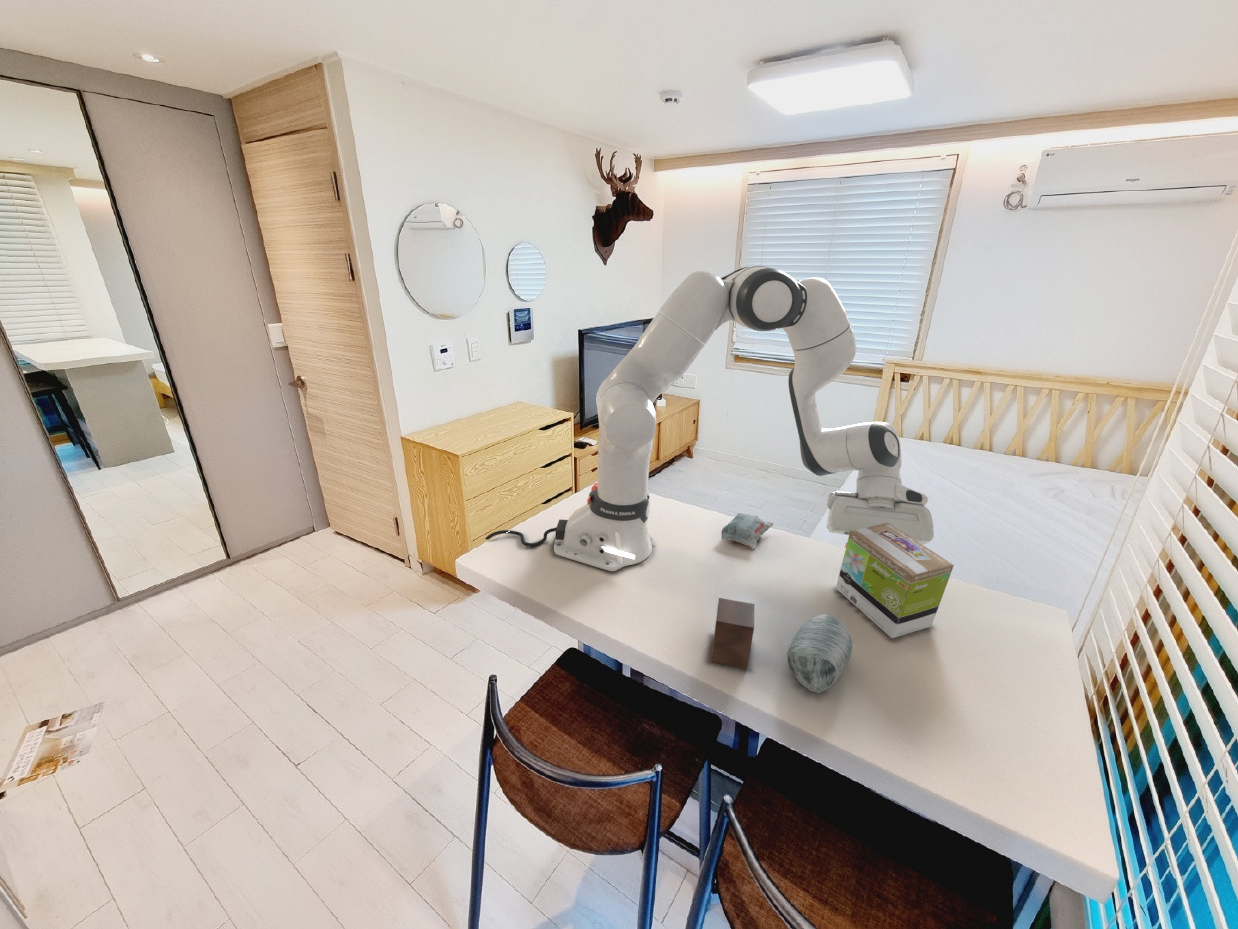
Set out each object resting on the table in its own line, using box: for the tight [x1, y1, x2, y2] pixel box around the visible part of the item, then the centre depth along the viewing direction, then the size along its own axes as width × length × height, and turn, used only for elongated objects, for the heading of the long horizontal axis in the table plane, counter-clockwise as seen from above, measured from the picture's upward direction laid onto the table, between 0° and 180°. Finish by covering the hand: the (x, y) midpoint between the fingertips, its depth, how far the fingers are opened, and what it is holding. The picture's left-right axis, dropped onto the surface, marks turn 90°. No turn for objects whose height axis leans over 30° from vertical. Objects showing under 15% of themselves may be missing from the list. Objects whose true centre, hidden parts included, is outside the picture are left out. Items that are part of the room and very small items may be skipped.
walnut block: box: [710, 597, 755, 670], centre depth 85 cm, size 6×6×9 cm
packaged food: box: [721, 512, 774, 550], centre depth 119 cm, size 9×12×5 cm
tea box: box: [835, 523, 955, 639], centre depth 95 cm, size 15×10×15 cm
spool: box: [786, 613, 854, 693], centre depth 83 cm, size 14×10×10 cm
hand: (878, 559), depth 104 cm, fingers closed
